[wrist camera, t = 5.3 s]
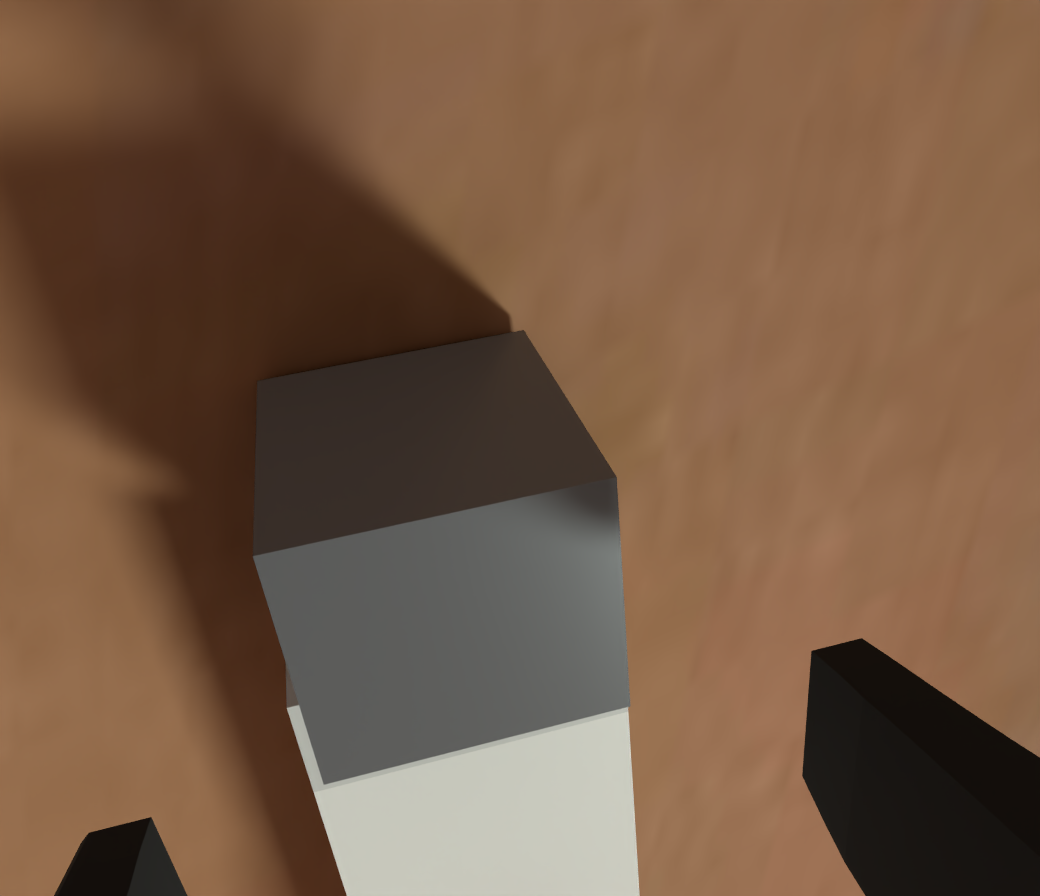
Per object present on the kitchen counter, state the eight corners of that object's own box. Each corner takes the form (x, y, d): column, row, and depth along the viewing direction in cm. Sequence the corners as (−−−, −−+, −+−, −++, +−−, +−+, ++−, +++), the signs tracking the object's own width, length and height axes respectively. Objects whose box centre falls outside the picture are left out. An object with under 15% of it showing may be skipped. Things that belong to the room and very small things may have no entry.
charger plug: (257, 380, 15) (252, 556, 11) (524, 330, 16) (616, 476, 12) (332, 654, 18) (351, 874, 14) (553, 602, 19) (635, 797, 15)
